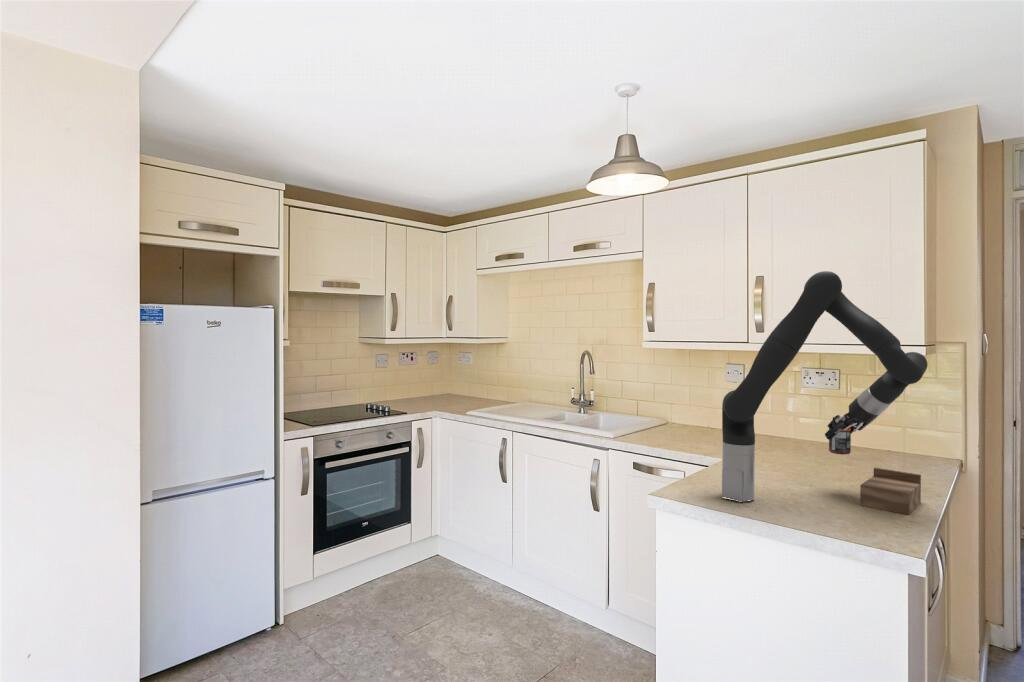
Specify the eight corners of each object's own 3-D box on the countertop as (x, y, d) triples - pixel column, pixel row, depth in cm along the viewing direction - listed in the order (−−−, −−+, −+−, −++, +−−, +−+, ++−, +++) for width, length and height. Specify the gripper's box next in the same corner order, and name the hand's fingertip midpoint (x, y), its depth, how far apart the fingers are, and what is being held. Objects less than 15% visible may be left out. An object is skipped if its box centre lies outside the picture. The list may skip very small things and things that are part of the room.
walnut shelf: (908, 514, 156) (909, 484, 156) (860, 505, 164) (860, 476, 164) (920, 502, 167) (921, 474, 167) (874, 494, 175) (874, 467, 175)
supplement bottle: (830, 450, 179) (831, 415, 179) (851, 452, 176) (852, 417, 176) (827, 453, 175) (827, 417, 175) (848, 455, 171) (849, 419, 171)
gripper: (879, 393, 170) (844, 426, 182) (844, 395, 166) (810, 428, 177) (895, 413, 165) (858, 445, 177) (860, 415, 161) (824, 447, 172)
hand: (834, 436), depth 177 cm, fingers closed on supplement bottle, 6 cm apart
